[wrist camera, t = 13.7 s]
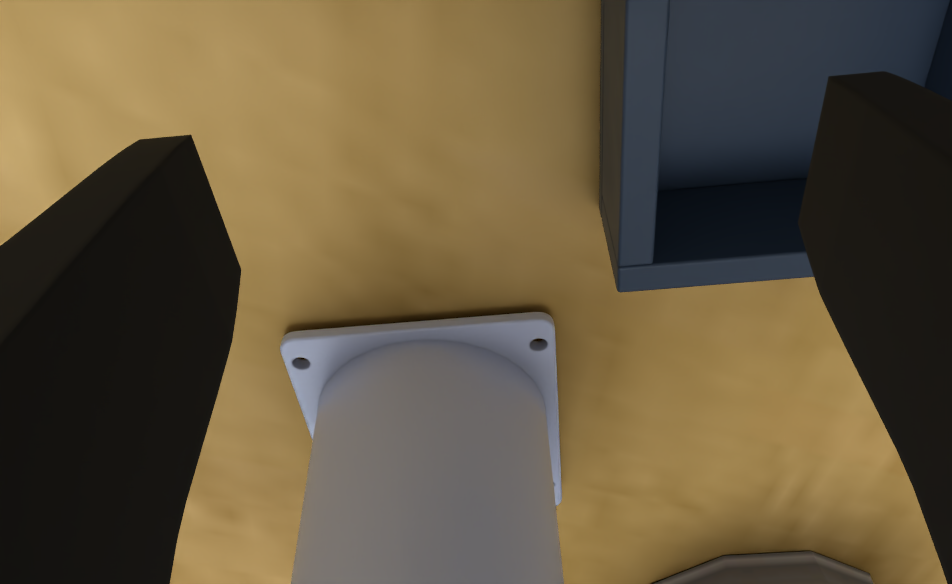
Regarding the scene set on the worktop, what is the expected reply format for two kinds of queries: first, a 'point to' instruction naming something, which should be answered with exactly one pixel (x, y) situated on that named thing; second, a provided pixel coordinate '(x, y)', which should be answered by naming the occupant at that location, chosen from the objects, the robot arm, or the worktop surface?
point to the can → (772, 570)
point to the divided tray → (734, 124)
